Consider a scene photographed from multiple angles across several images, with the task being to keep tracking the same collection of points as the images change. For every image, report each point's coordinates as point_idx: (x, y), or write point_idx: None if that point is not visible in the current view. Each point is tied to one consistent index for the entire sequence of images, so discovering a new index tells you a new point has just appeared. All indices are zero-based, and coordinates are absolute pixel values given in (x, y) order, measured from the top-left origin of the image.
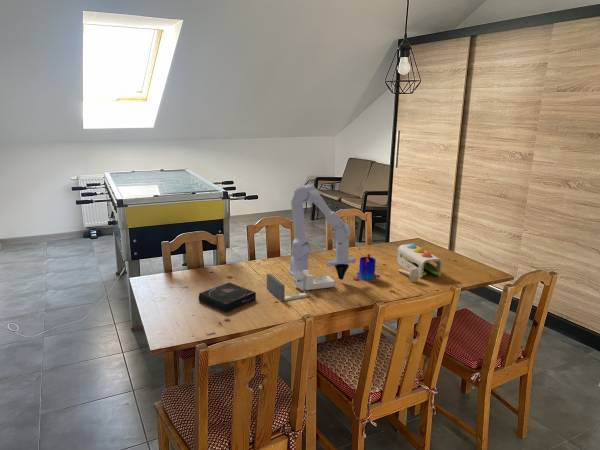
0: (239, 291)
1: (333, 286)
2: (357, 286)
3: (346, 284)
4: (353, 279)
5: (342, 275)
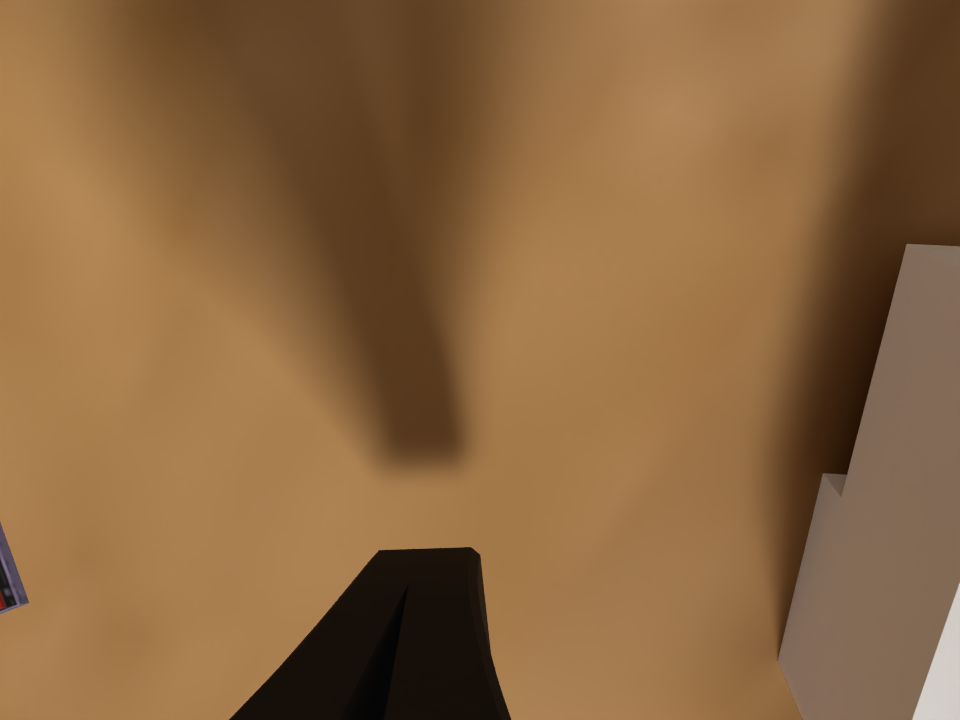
0: None
1: (952, 247)
2: (40, 67)
3: (340, 354)
4: (9, 578)
5: (403, 644)
